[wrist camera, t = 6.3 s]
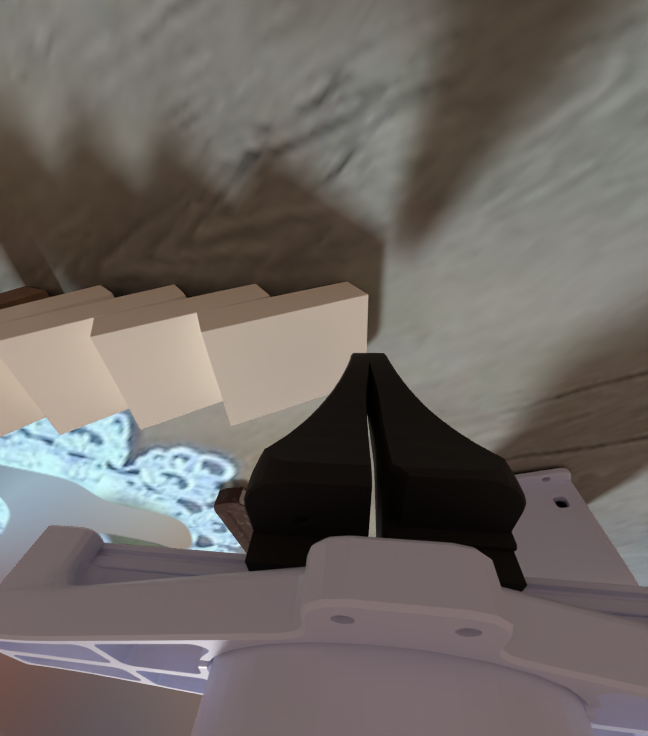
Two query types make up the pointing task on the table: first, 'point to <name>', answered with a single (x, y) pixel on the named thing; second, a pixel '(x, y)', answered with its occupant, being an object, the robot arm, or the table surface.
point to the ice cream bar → (234, 514)
